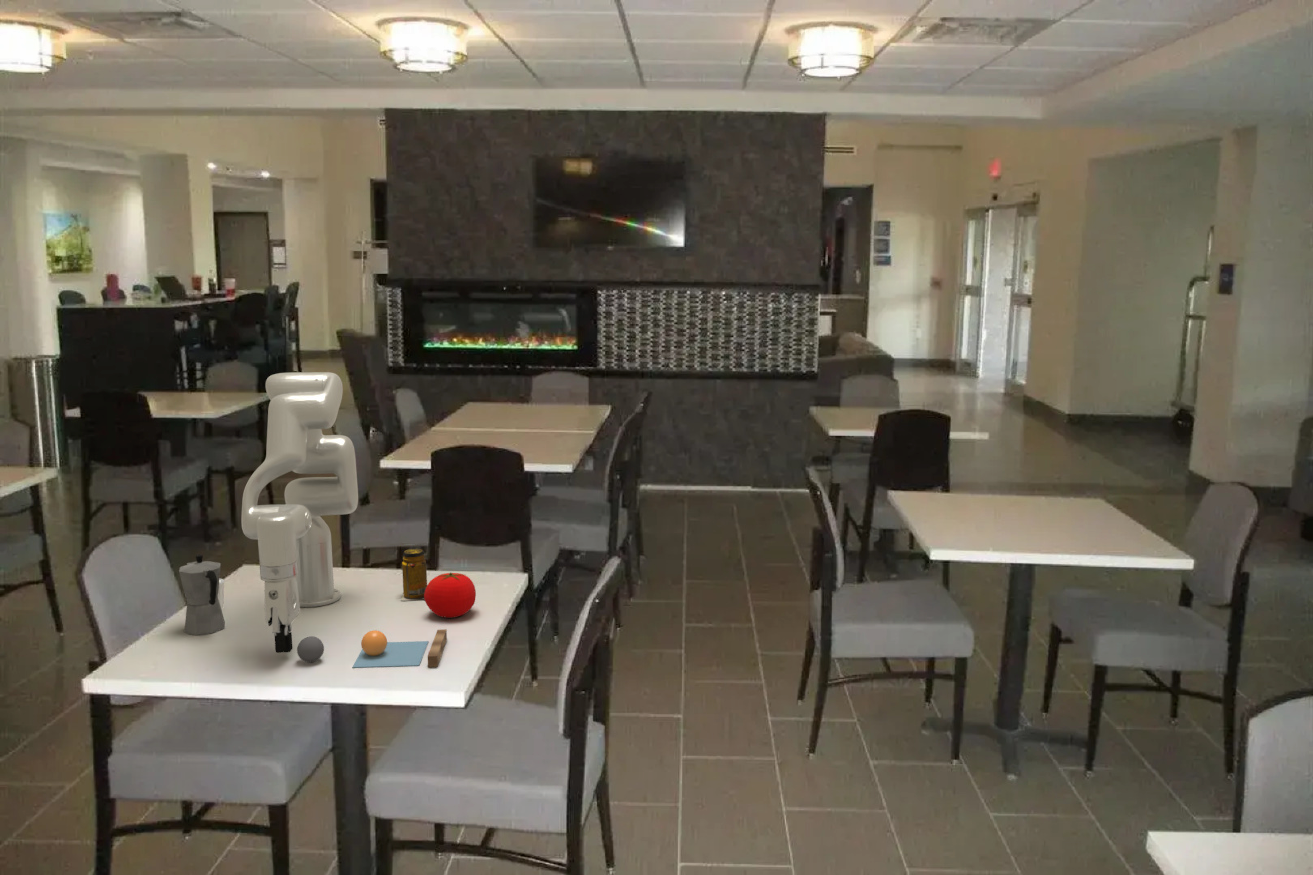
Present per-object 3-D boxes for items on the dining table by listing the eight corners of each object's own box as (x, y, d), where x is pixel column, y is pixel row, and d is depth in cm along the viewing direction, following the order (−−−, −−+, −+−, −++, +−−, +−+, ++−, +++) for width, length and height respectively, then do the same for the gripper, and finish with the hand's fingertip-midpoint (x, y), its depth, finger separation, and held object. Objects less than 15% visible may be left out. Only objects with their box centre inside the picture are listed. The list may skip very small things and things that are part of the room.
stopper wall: (437, 640, 236) (437, 629, 236) (446, 639, 236) (446, 629, 236) (428, 667, 220) (427, 656, 220) (437, 667, 220) (437, 656, 220)
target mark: (365, 643, 234) (365, 642, 234) (428, 641, 235) (428, 641, 235) (352, 667, 220) (352, 667, 220) (419, 665, 221) (419, 665, 221)
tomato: (467, 624, 246) (466, 581, 244) (418, 621, 248) (416, 579, 246) (482, 608, 257) (481, 567, 255) (435, 605, 259) (434, 565, 257)
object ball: (387, 625, 229) (391, 648, 230) (362, 628, 229) (366, 652, 230) (382, 634, 224) (386, 657, 225) (356, 637, 223) (361, 661, 224)
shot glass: (196, 615, 253) (194, 587, 251) (196, 606, 259) (194, 579, 258) (226, 611, 255) (224, 583, 254) (225, 602, 262) (223, 576, 260)
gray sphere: (325, 633, 223) (331, 649, 226) (302, 629, 224) (308, 644, 228) (312, 653, 219) (319, 669, 222) (289, 649, 220) (295, 665, 223)
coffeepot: (174, 626, 245) (168, 552, 242) (214, 616, 251) (209, 545, 248) (198, 643, 234) (191, 567, 231) (239, 633, 240) (234, 558, 237)
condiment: (403, 592, 270) (401, 548, 268) (436, 590, 271) (434, 546, 269) (401, 601, 263) (398, 556, 260) (435, 599, 264) (433, 554, 262)
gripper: (287, 580, 215) (292, 664, 218) (305, 559, 230) (310, 638, 233) (250, 581, 215) (256, 665, 218) (270, 560, 229) (276, 639, 233)
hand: (284, 651), depth 225 cm, fingers closed
